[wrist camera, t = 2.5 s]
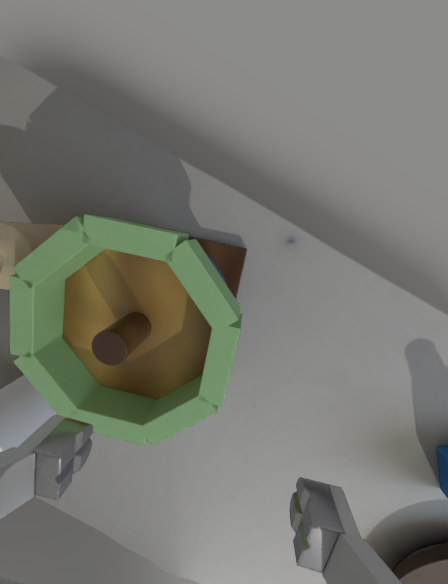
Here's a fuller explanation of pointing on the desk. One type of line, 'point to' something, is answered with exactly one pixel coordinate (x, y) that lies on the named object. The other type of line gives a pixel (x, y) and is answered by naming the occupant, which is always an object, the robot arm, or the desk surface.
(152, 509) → the desk surface
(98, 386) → the ring
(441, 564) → the plant saucer
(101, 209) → the desk surface
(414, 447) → the desk surface
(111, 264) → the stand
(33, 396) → the mug
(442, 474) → the perfume bottle
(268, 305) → the desk surface
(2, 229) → the candle
